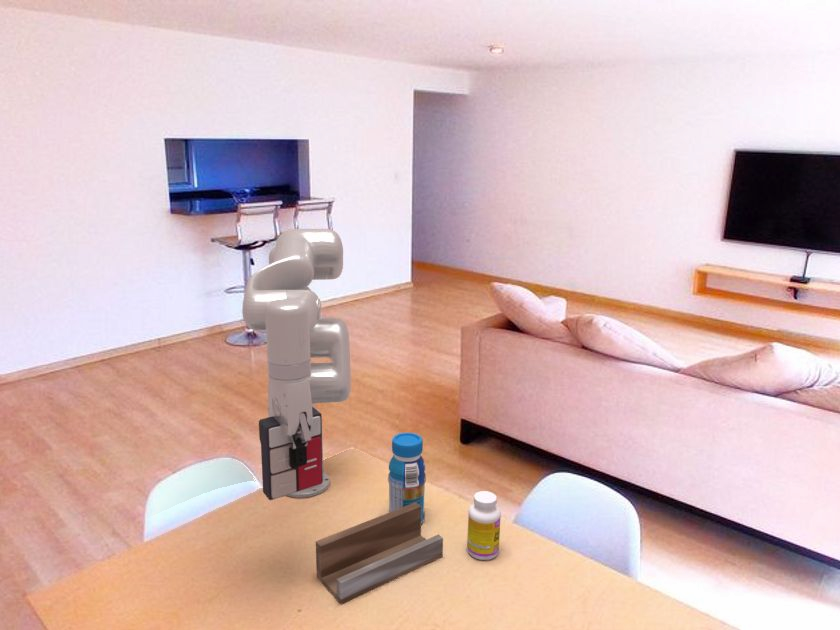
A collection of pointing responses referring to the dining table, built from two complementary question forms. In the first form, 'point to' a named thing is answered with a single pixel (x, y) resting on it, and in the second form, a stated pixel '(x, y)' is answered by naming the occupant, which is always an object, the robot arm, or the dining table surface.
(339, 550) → the wooden channel stand
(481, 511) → the supplement bottle
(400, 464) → the beverage bottle
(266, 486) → the calculator
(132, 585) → the dining table surface
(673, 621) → the dining table surface
